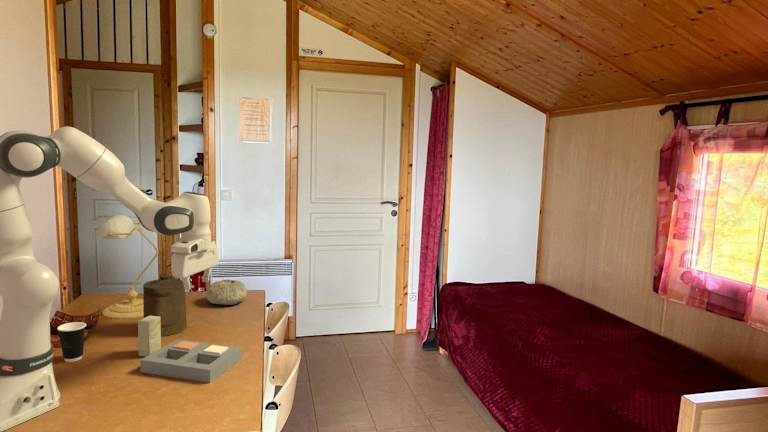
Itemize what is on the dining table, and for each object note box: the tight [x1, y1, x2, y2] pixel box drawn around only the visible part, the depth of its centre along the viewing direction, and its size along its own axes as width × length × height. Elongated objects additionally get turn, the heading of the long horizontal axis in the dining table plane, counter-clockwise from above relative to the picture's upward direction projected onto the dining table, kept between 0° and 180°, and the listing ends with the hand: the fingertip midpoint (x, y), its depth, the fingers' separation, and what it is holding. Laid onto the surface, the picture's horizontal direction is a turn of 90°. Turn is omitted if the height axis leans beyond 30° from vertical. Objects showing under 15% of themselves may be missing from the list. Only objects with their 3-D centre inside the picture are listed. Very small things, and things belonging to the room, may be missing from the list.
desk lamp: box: [92, 214, 160, 320], centre depth 206 cm, size 31×23×40 cm
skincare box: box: [137, 316, 162, 358], centre depth 164 cm, size 6×4×12 cm
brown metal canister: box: [142, 272, 187, 337], centre depth 186 cm, size 15×15×22 cm
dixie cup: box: [56, 321, 87, 363], centre depth 158 cm, size 8×8×11 cm
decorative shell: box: [205, 279, 248, 306], centre depth 222 cm, size 18×18×10 cm
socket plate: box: [139, 338, 242, 384], centre depth 156 cm, size 18×24×4 cm
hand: (197, 285), depth 157 cm, fingers open, 8 cm apart
